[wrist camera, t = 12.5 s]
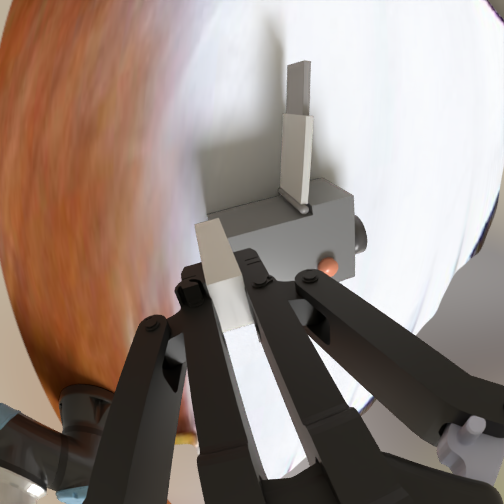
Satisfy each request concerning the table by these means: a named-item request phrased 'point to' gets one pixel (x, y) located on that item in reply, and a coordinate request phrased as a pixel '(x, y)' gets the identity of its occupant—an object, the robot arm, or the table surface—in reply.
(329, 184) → the housing
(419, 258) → the table surface
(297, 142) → the side door
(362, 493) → the robot arm
